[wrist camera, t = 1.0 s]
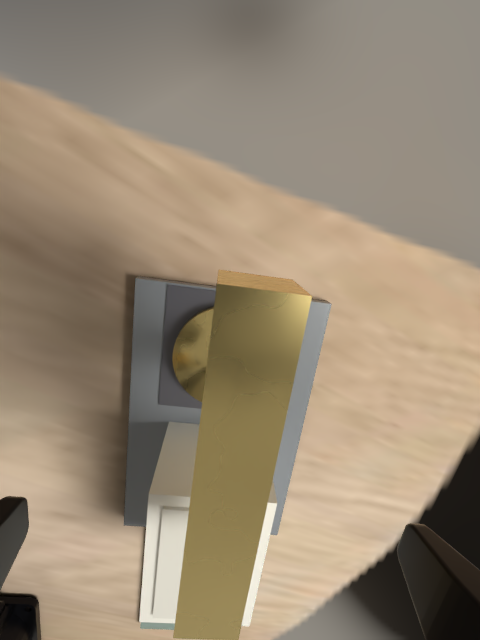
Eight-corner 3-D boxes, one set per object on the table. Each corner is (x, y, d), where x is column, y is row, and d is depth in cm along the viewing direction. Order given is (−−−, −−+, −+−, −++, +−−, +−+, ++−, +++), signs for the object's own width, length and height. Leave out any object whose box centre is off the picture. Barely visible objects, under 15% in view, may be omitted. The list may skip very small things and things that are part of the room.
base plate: (275, 526, 21) (277, 536, 21) (126, 516, 21) (123, 526, 20) (327, 301, 17) (332, 304, 16) (138, 276, 16) (135, 278, 15)
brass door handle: (261, 445, 19) (294, 642, 10) (166, 437, 18) (112, 636, 9) (298, 259, 15) (393, 307, 7) (183, 243, 15) (126, 271, 6)
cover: (243, 533, 21) (249, 630, 16) (159, 527, 20) (138, 625, 15) (263, 430, 18) (278, 506, 13) (169, 421, 18) (147, 496, 13)
